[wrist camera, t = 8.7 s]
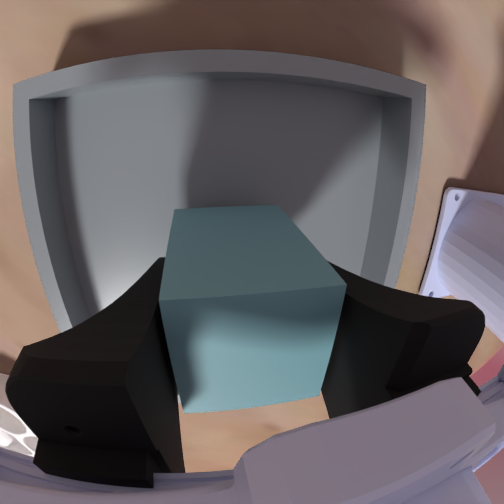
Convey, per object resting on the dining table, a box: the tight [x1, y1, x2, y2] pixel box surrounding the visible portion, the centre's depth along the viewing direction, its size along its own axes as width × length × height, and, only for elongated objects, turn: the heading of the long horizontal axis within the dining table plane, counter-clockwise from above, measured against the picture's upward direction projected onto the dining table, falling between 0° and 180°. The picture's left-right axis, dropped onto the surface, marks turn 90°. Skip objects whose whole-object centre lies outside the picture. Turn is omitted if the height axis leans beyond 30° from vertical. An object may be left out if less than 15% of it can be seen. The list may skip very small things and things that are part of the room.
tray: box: [13, 49, 426, 403], centre depth 13 cm, size 16×16×3 cm
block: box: [159, 205, 347, 413], centre depth 10 cm, size 4×4×6 cm
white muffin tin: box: [0, 373, 38, 457], centre depth 18 cm, size 3×18×15 cm
